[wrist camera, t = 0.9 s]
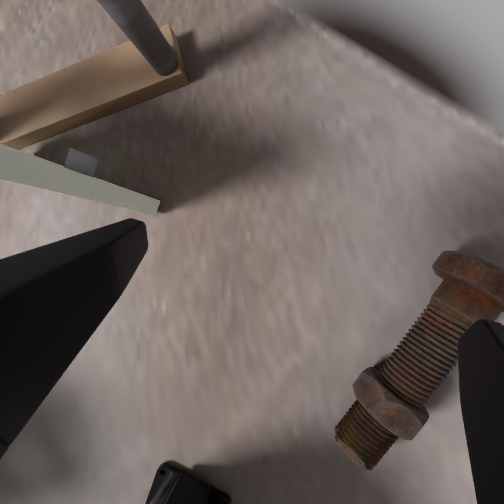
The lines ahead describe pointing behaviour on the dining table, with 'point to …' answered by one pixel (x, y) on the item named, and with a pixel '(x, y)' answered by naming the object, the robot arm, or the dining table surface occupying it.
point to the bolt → (419, 360)
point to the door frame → (96, 81)
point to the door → (70, 178)
